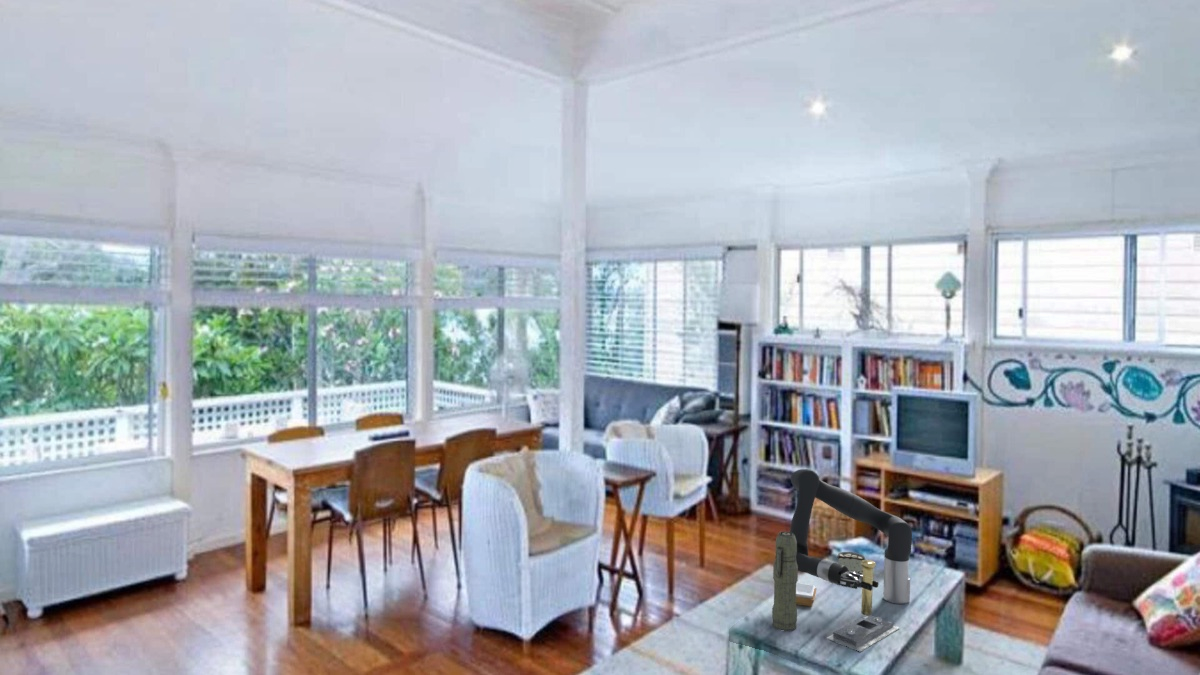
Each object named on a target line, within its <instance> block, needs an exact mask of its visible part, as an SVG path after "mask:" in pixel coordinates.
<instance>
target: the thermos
mask: <svg viewBox="0 0 1200 675" xmlns="http://www.w3.org/2000/svg"><path fill="white" fill-rule="evenodd" d="M774 549H775V552H774V553H775V558H774V562H773V565H772V566H773V569H772V572H773V573H772V574H773V575H772V579H773V582H774V583H773V585H774V586H773V589H774V590H773V606H772V608H771V609H772V610H771V612H772V614H771V616H772V617H771V618H772V624H771V625H772V627H773V628H774V627H775V628H774V629H776V630H778V631H781V630H784V631H783V632H793V631H796V630H797V621H798V608H797V604H796V583H798V580H799V579H798V577H799V576H798V575H799V574H798V573H799V571H798V565H797V562H796V554H797V541H796V538H795V535H794V534H793V533H791V532H790V531H779V532H778V533H777V535H776V539H775V548H774ZM792 630H793V631H792Z"/></svg>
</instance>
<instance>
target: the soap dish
mask: <svg viewBox="0 0 1200 675" xmlns="http://www.w3.org/2000/svg"><path fill="white" fill-rule="evenodd" d="M816 594H817V588H816V586H815V585H814V584H808V583H801V582H797V583H796V605H800V606H805V607H813V604H814V602H815V598H816Z"/></svg>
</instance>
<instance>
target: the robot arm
mask: <svg viewBox="0 0 1200 675" xmlns="http://www.w3.org/2000/svg"><path fill="white" fill-rule="evenodd" d="M790 480H791V481H790V482H791V484H792V486H793V487H794V489H795V490H796V491H798V496H797V497H798V500H797V504H796V508H795V510H794V513H793V515H792V518H791V524H790V529H789V532H791V533H793V534H794V535H795V538H796V541H797V554H796V562H797V565H798V572H800V573H804V574H808V575H811V576H813V577H816V578H819V579H820V580H823V581H826V582H828V583H832V584H835V585H837V586H841V587H846V588H850V589H856V590H857V589H858V588H859V589H862V588H864V589H867V590H870V591H871V590H872V584H870V583H867V582H864V581H863V582H862V576H863V572H861V571H858V573H855V572H852V571H851V572H849V571H848V569H847V567H846V566H844V565H841V564H838V562H835V561H831V560H827V559H822V558H819V557H817V556H810V555H809V549H808V537H809V529H810V523H811V522H810V521H811V516H812V511H813V507H814V503H815V499H817V500H820V501H821V502H822V503H824V504H826V505H827V506H829V507H831V508H832V509H834V510H836V511H837V512H839V513H841V514H842V515H845V516H847V517H849V519H853V520H855V521H859V522H862V523H865V524H868V525H871V526H872V527H874V528H875V529H877V530H878V531H879V532H882V533H883V534H884V535H885V536H886V537H888V540H887V548H885V549H884V554H883V555H884V560H883V561H884V563H883V564H884V566H883V593H882V595H883V600H885V601H887V602H889V603H892V604H898V605H899V604H900V605H902V604H906V603H910V600H911V599H910V598H911V579H910V577H909V567H910V566H909V565H910V555H911V552H912V542H913V531H912V528H911V526H910V524H909V523H907V522H906V521H905V520H903V519H902V518H901V517H899V516H897V515H894V514H891V513H889V512H886V511H884V510H881V509H880V508H879V507H878V508H877V507H876V506H875V505H873V504H872V503H870V502H869V501H867V500H865V499H863V497H861V496H859V495H857V494H855V493H853V492H851V491H848V490H846V489H843V488H841V487H838V486H835V485H831V484H829V483H827V482H825V481H823V480H821V479H820V477H819V475H818V473H817V472H816V471H814V470H813V469H810V468H808V469H807V468H806V469H805V468H801V469H797V470H796V471H794V472H793V473H792V474H791V476H790ZM859 579H860V580H859ZM878 587H879V581H877V580H874V579H873V588H875V589H876V588H878ZM872 591H873V590H872Z"/></svg>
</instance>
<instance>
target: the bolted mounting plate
mask: <svg viewBox="0 0 1200 675" xmlns="http://www.w3.org/2000/svg"><path fill="white" fill-rule="evenodd" d="M899 628H900V627H898V626H896V625H894V623H892V622H891V621H887V620H884V619H882V618H881V617H880V616H873V615H872V614H871V615H865V616H864V617H862V616H861V617H859V618H857V619H855V620H854V621H852V622H850V623H848V624H846V625H844V626H842V627H841V628H839V629H836V630H835V631H833V633H832V634H831V635H829V636H827V637H826V640H828V639H829V640H828V641H831V640H832V642H833V641H835V642H834V643H836V642H837V643H836V644H838V643H840V644H839V645H841V644H842V645H841V646H843V645H845V646H844V647H846V646H847V647H846V648H848V647H849V649H851V648H852V649H851V650H853V649H855V650H854V651H856V650H857V651H856V652H858V651H859V652H858V653H861V652H863V651H864V649H865V650H866V649H868V648H870V647H871V646H873V645H875V644H876V643H878V642H879V641H881V640H883V639H885V638H886V636H887V637H889V636H890V635H892V634H893V633H895V632H896V630H897V631H899V630H900V629H899ZM891 633H892V634H891ZM874 643H875V644H874ZM869 646H870V647H869ZM867 647H868V648H867Z"/></svg>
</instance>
